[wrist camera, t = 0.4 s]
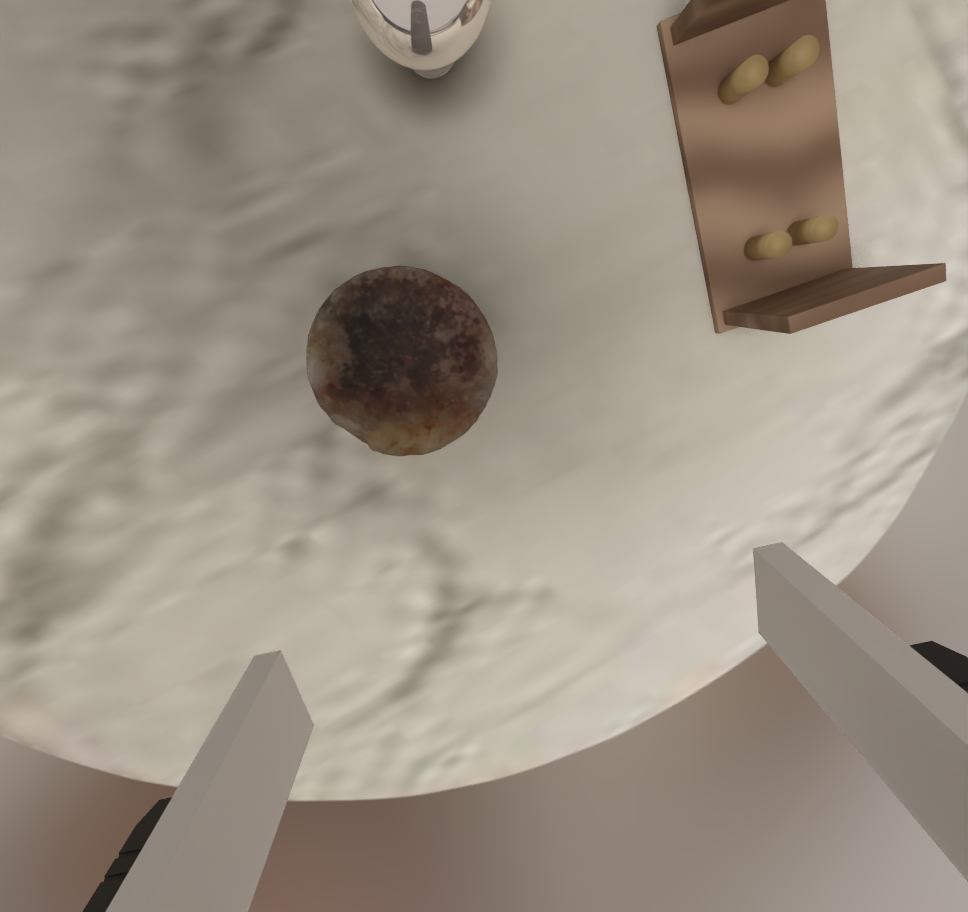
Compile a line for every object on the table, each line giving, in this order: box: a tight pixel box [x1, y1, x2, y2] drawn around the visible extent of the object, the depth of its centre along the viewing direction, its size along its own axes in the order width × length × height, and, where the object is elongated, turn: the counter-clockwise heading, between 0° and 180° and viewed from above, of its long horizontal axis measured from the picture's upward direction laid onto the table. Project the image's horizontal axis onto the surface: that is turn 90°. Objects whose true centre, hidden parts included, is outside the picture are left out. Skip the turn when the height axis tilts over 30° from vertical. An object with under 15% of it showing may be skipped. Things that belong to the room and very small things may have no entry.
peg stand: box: [657, 0, 946, 334], centre depth 30 cm, size 20×10×9 cm, turn 19°
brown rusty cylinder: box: [307, 266, 497, 456], centre depth 28 cm, size 8×7×20 cm
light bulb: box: [351, 0, 491, 79], centre depth 26 cm, size 7×7×12 cm
